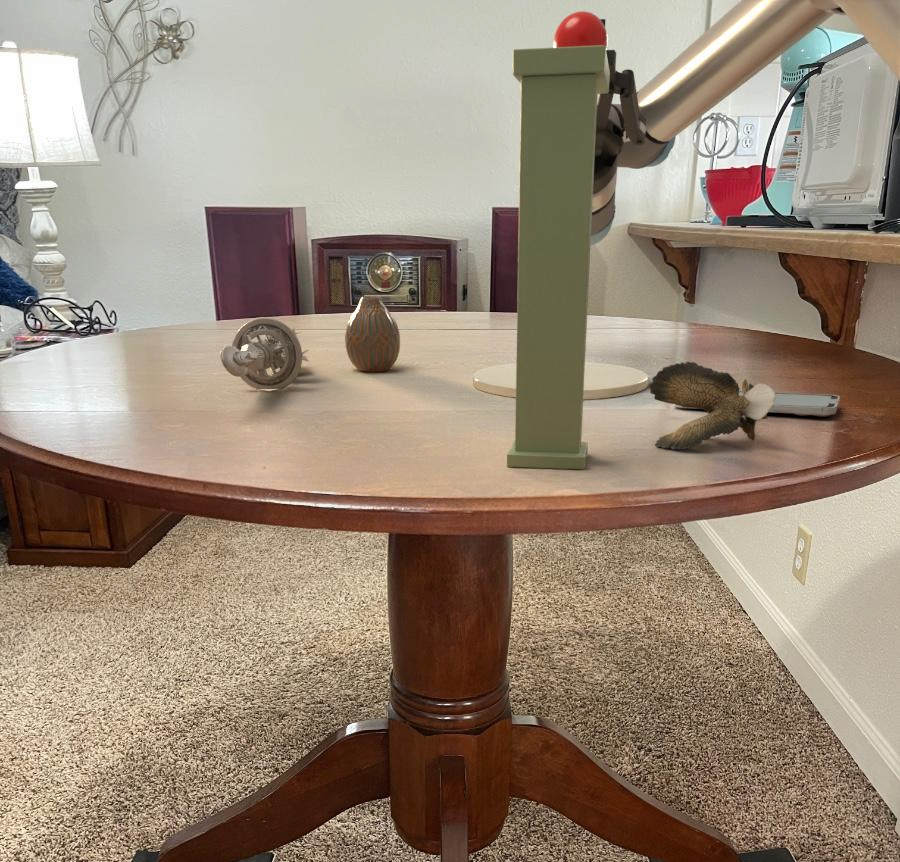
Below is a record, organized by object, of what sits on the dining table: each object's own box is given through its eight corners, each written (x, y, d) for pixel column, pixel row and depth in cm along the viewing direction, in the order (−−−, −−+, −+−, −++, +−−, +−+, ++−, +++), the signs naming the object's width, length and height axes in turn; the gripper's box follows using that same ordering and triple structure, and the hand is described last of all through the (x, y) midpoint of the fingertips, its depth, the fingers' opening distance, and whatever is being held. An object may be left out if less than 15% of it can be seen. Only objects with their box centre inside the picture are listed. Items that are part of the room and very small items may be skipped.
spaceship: (167, 338, 81) (244, 303, 80) (254, 332, 115) (309, 307, 114) (207, 419, 84) (282, 386, 82) (281, 390, 117) (336, 366, 116)
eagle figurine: (722, 413, 80) (634, 401, 78) (766, 352, 75) (673, 336, 72) (748, 476, 76) (656, 465, 74) (797, 416, 71) (699, 402, 68)
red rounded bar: (563, 84, 90) (565, 29, 87) (607, 83, 89) (611, 28, 87) (550, 78, 72) (552, 9, 70) (605, 77, 71) (609, 7, 69)
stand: (524, 431, 80) (531, 74, 69) (591, 433, 79) (609, 71, 68) (506, 466, 69) (512, 47, 58) (584, 469, 68) (605, 43, 57)
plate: (660, 373, 108) (660, 365, 107) (630, 404, 90) (631, 394, 90) (502, 366, 114) (503, 358, 114) (447, 394, 97) (447, 385, 97)
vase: (380, 375, 109) (376, 300, 105) (335, 371, 112) (331, 298, 109) (411, 367, 114) (409, 295, 111) (368, 363, 117) (364, 294, 114)
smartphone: (687, 388, 94) (840, 394, 88) (686, 397, 94) (839, 404, 88) (672, 400, 88) (835, 408, 82) (671, 410, 88) (834, 418, 82)
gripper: (648, 197, 103) (667, 73, 79) (518, 197, 105) (500, 76, 82) (652, 133, 103) (672, -10, 80) (523, 134, 105) (505, -4, 82)
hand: (585, 34), depth 81 cm, fingers closed on red rounded bar, 2 cm apart
